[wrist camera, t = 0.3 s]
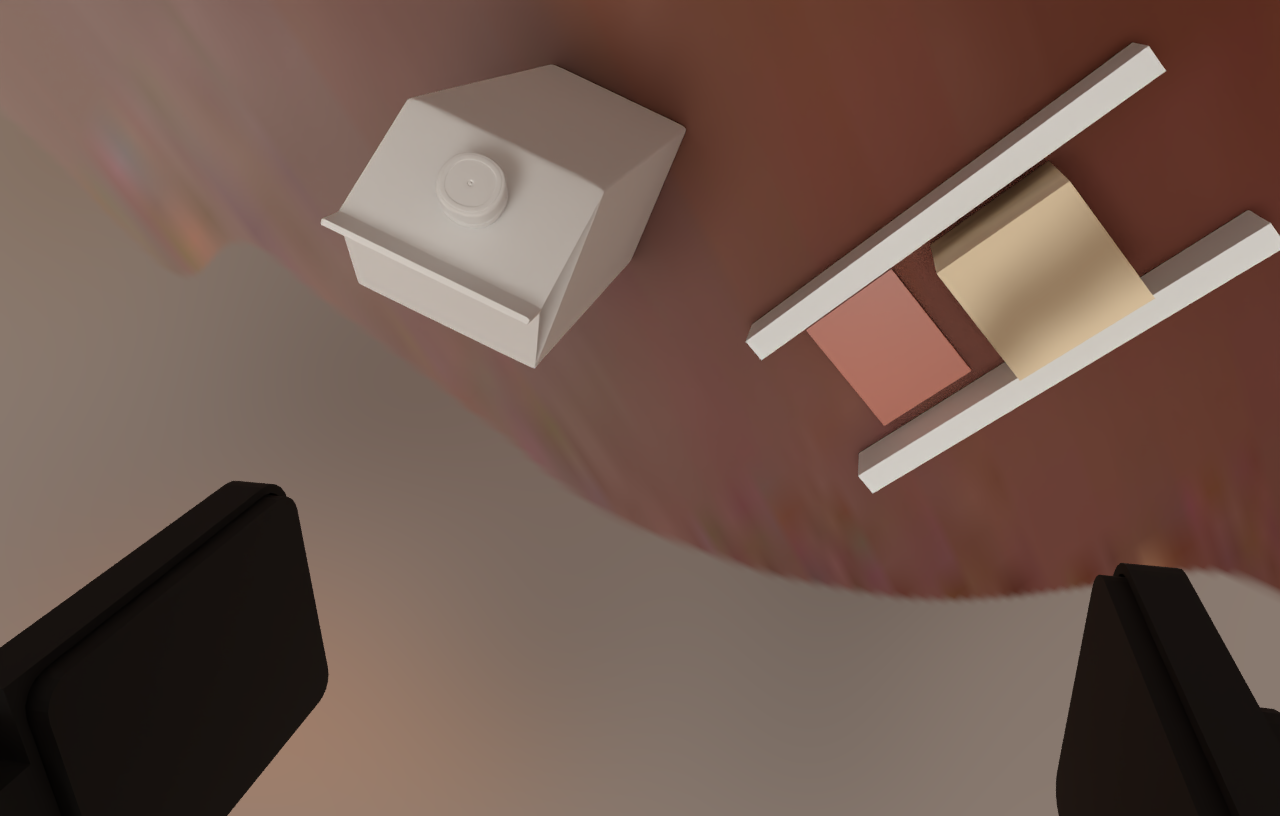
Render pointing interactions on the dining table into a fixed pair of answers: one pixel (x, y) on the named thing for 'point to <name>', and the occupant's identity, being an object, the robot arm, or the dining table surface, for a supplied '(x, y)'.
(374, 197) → the milk carton
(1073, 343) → the maple block
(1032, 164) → the channel
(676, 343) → the dining table surface
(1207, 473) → the dining table surface
